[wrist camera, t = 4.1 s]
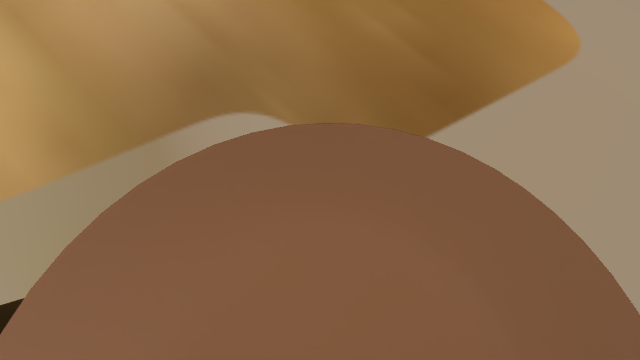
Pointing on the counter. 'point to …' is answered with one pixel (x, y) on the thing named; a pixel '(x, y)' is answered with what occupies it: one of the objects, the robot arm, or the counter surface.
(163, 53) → the counter surface
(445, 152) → the brown rounded tapered cylinder
